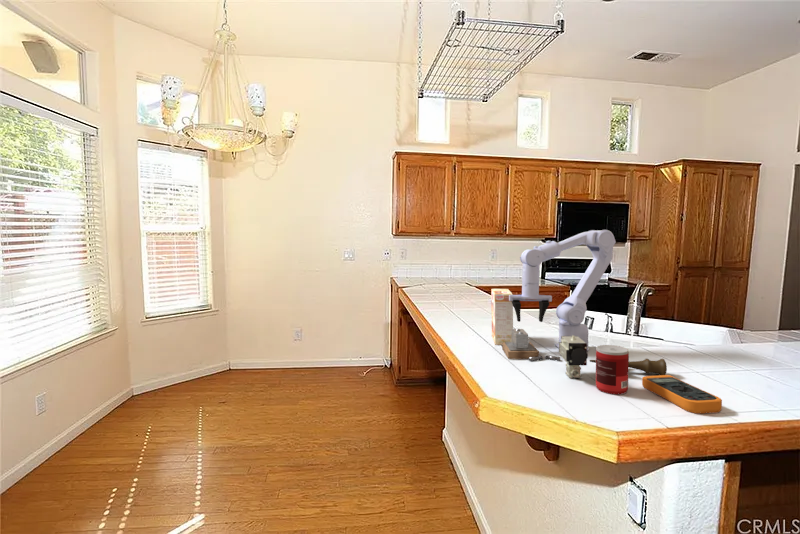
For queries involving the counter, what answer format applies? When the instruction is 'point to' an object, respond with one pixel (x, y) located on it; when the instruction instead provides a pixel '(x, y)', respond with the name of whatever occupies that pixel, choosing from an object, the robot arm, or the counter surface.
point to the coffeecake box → (501, 316)
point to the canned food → (612, 369)
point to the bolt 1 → (535, 358)
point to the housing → (519, 338)
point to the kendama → (648, 366)
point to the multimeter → (682, 394)
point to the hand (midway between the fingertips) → (529, 321)
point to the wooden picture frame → (519, 351)
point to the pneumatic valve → (573, 354)
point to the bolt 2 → (552, 357)
